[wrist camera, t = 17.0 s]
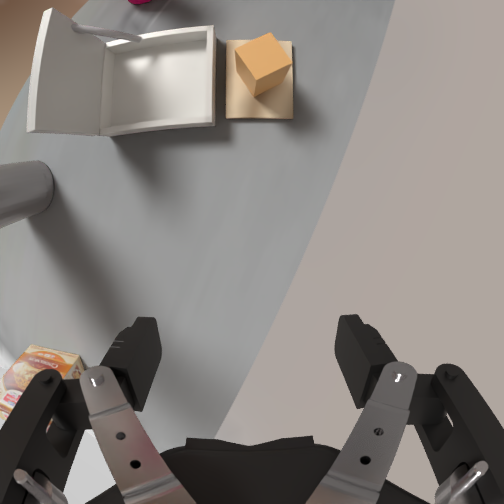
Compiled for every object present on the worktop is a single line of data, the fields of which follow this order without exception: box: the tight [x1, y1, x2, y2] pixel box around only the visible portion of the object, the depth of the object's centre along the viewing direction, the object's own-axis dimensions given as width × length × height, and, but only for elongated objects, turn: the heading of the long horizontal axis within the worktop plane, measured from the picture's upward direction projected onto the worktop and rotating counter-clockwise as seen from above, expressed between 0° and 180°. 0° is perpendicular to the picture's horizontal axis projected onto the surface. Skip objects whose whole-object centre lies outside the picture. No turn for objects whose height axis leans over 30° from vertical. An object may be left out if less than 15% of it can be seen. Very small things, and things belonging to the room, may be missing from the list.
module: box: [234, 32, 293, 97], centre depth 30 cm, size 4×4×9 cm
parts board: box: [226, 40, 293, 119], centre depth 34 cm, size 9×12×1 cm
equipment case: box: [27, 8, 217, 137], centre depth 26 cm, size 17×14×18 cm
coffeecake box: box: [0, 344, 84, 433], centre depth 40 cm, size 15×7×20 cm, turn 88°
